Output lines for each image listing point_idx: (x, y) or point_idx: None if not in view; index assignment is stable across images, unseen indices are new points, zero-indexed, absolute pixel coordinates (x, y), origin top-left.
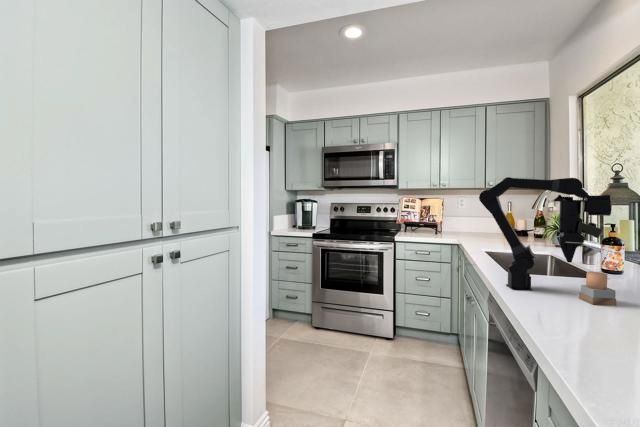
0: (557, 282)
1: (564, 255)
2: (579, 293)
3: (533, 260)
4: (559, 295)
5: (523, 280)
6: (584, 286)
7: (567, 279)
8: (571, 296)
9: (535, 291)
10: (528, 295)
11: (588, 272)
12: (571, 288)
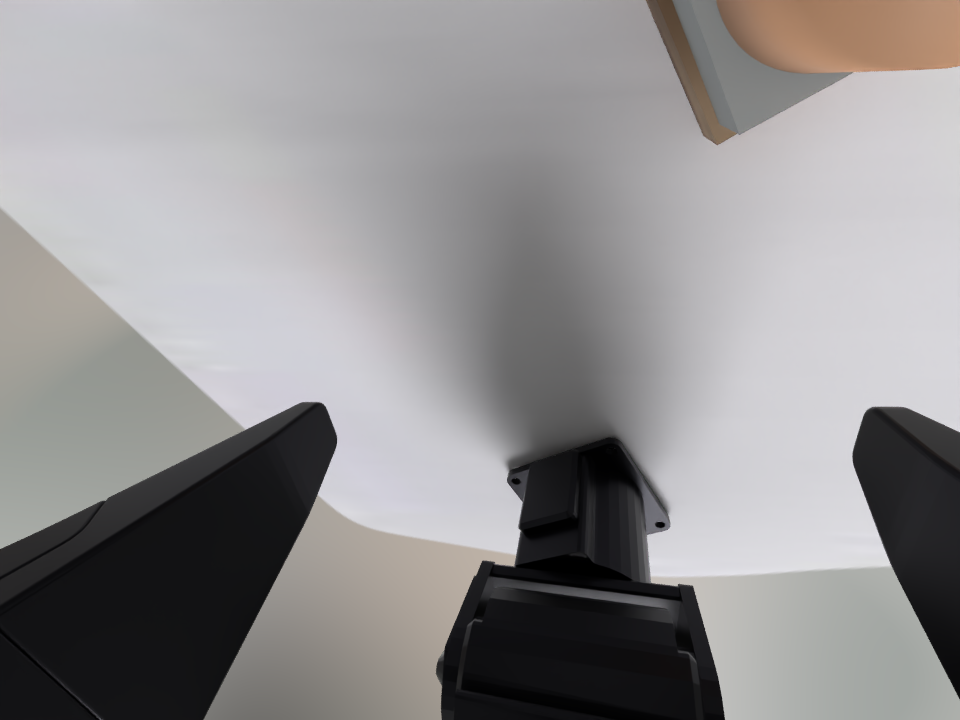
0: (234, 296)
1: (320, 476)
2: (722, 137)
3: (694, 701)
4: (657, 280)
5: (637, 533)
6: (815, 92)
7: (83, 237)
8: (642, 196)
9: (618, 417)
10: (772, 454)
11: (954, 30)
12: (346, 204)
